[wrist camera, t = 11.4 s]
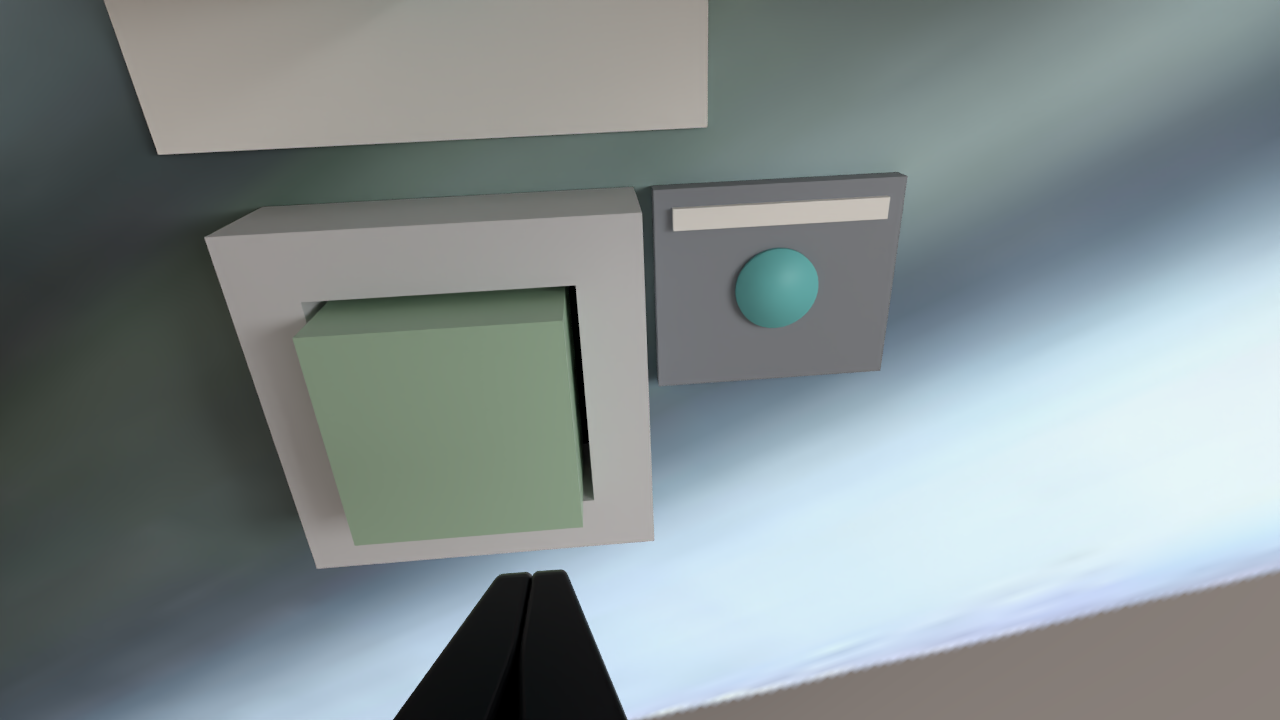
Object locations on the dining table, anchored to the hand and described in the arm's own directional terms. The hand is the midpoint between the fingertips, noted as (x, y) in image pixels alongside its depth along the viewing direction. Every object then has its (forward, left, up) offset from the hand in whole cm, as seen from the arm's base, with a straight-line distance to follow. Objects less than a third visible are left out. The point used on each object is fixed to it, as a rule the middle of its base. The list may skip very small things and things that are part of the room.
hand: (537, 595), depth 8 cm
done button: (+3, +2, -12) cm, 12 cm away
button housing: (+3, +2, -12) cm, 13 cm away
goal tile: (-6, 0, -12) cm, 14 cm away
